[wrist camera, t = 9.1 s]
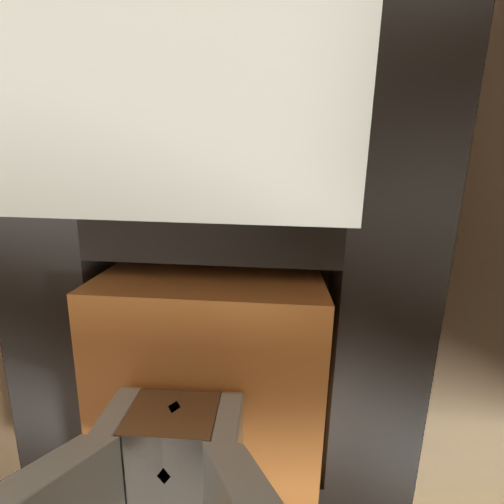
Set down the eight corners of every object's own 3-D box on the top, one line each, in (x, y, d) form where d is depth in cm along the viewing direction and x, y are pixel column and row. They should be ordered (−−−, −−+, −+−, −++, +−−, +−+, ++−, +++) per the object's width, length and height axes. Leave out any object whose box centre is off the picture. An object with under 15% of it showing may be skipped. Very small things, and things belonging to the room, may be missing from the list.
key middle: (329, 204, 9) (360, 228, 6) (97, 198, 9) (-1, 217, 6) (351, -81, 7) (409, -274, 4) (75, -76, 8) (-72, -251, 5)
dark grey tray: (378, 459, 14) (406, 538, 11) (77, 438, 14) (27, 507, 11) (513, -573, 7) (667, -1048, 4) (-33, -521, 8) (-206, -904, 5)
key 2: (305, 428, 12) (316, 524, 9) (138, 417, 13) (89, 505, 9) (316, 263, 11) (334, 306, 8) (127, 256, 11) (66, 294, 8)
